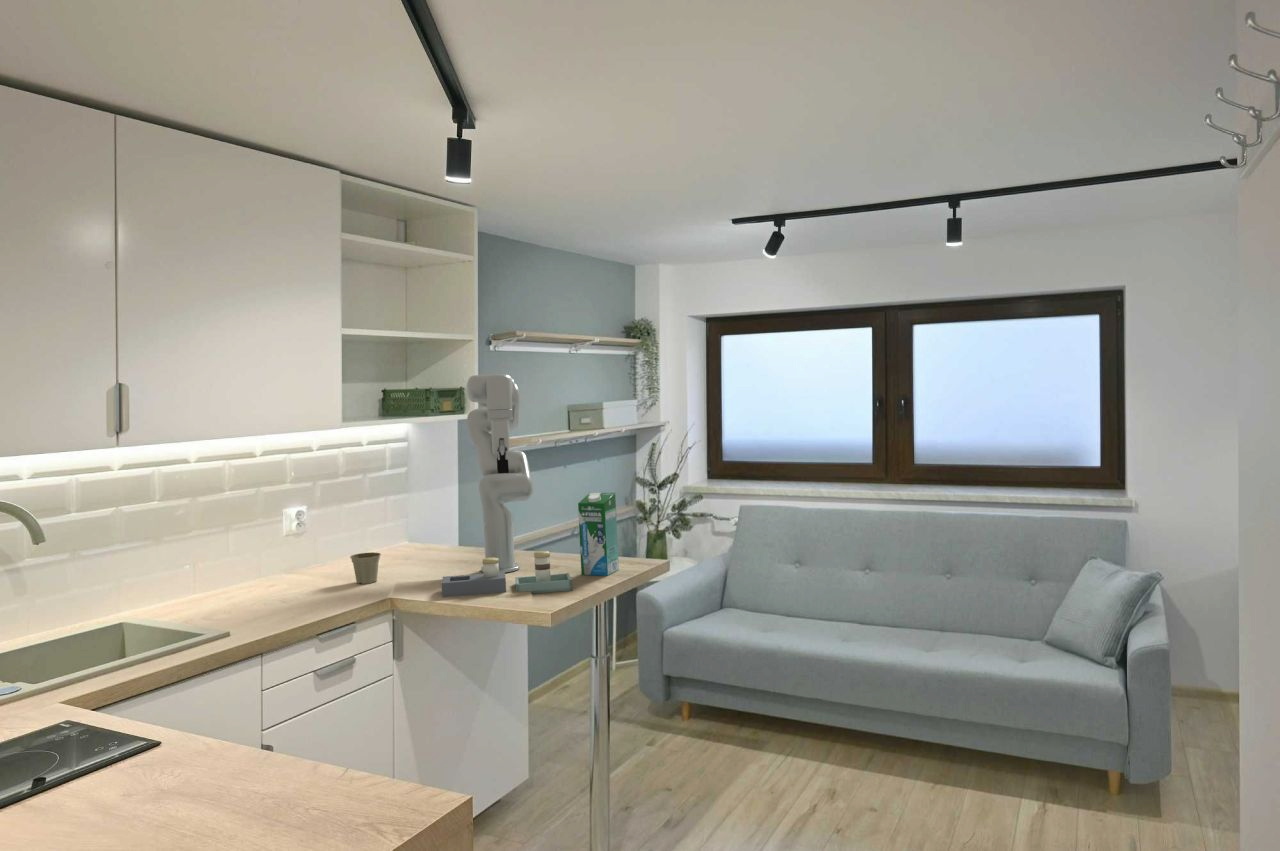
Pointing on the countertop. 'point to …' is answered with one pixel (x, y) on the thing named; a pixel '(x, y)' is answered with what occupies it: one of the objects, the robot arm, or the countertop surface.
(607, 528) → the milk carton
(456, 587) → the block
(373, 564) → the flower pot
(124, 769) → the countertop surface
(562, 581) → the tray
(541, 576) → the fuse
